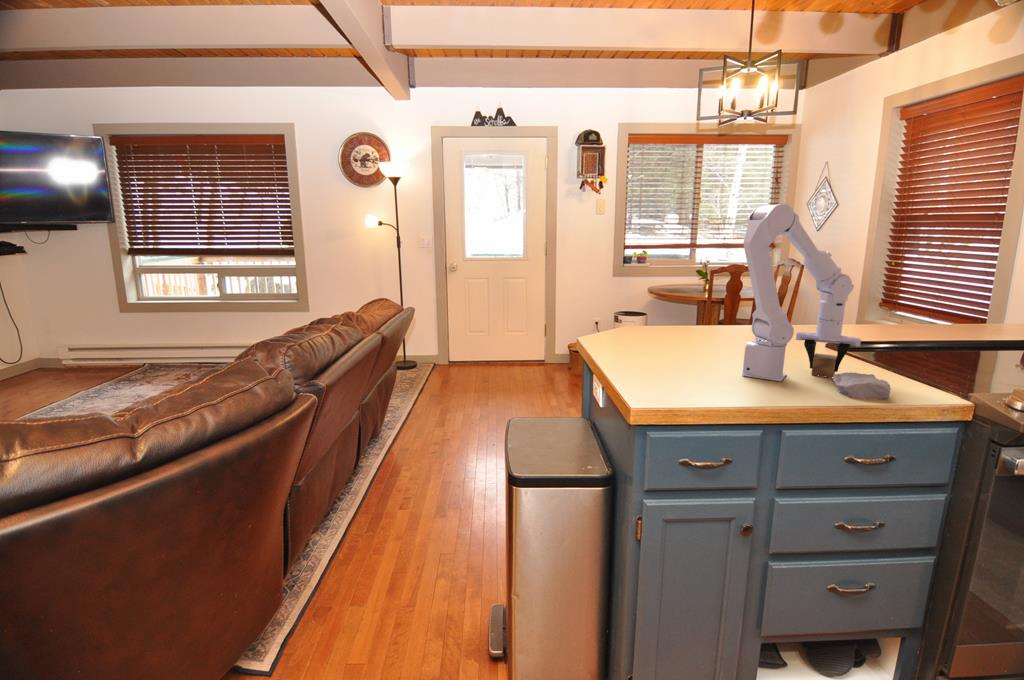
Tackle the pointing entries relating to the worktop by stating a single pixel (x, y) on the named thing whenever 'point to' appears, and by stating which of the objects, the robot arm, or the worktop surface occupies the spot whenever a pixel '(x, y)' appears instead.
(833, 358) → the walnut cube
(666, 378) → the worktop surface
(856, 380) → the stone block
